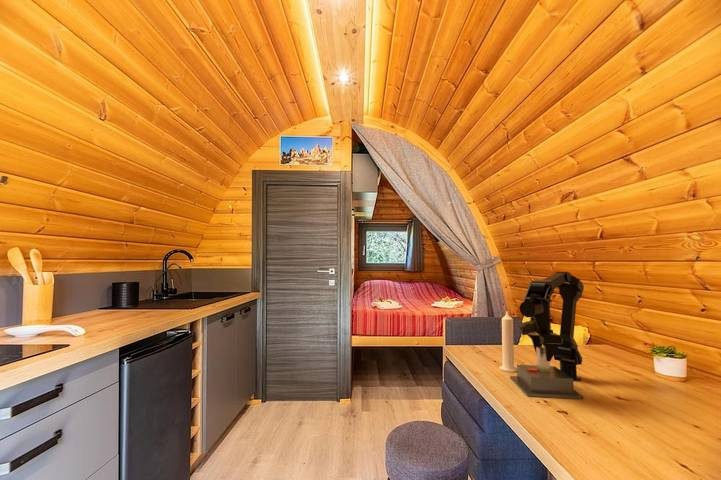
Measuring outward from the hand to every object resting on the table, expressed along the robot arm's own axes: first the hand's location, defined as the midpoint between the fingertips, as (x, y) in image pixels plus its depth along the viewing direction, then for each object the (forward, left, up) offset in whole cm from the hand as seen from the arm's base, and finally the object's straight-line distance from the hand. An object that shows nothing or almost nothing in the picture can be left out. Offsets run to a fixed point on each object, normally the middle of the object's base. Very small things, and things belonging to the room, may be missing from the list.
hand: (542, 357), depth 123 cm
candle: (-21, -6, -11) cm, 24 cm away
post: (0, 0, -5) cm, 5 cm away
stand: (0, 0, -11) cm, 11 cm away
